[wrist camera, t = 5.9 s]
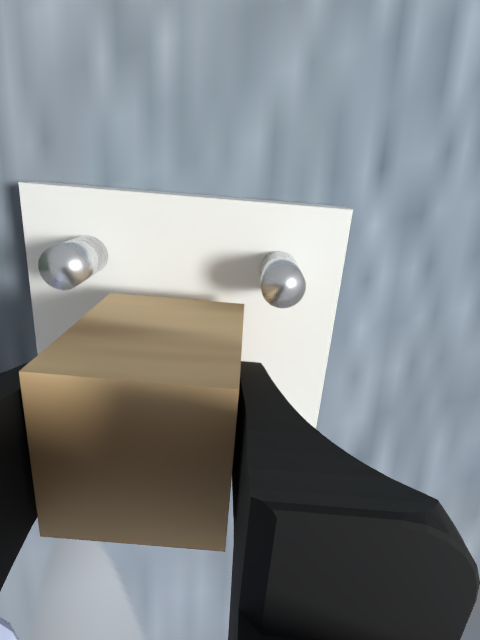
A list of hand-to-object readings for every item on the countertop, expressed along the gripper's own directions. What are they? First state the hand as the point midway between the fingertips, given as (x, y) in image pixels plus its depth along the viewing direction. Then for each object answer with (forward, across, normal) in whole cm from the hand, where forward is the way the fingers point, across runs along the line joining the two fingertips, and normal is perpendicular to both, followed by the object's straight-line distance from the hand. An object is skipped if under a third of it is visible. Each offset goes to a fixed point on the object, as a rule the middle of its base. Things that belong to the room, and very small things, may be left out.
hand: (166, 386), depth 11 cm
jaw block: (+2, 0, 0) cm, 2 cm away
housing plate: (+4, 0, 0) cm, 4 cm away
